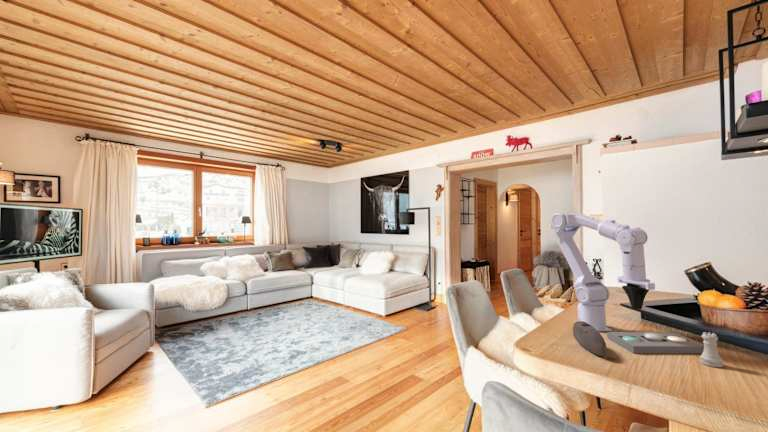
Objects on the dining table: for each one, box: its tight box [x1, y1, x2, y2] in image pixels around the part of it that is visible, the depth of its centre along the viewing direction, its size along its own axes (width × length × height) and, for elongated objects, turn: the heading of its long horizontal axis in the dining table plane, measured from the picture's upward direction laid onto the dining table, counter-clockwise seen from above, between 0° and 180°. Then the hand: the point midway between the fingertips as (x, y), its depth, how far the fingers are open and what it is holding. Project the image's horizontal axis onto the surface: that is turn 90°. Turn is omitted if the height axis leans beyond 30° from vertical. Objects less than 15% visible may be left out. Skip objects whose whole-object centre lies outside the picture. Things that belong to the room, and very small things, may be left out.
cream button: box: [667, 336, 687, 342], centre depth 98 cm, size 4×4×1 cm
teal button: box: [622, 336, 640, 342], centre depth 100 cm, size 4×4×1 cm
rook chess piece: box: [699, 331, 725, 368], centre depth 85 cm, size 4×4×8 cm
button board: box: [606, 331, 704, 354], centre depth 99 cm, size 13×20×2 cm, turn 84°
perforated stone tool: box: [572, 320, 607, 357], centre depth 97 cm, size 15×5×7 cm, turn 170°
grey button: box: [644, 333, 663, 342], centre depth 99 cm, size 4×4×1 cm
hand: (636, 308), depth 102 cm, fingers closed
